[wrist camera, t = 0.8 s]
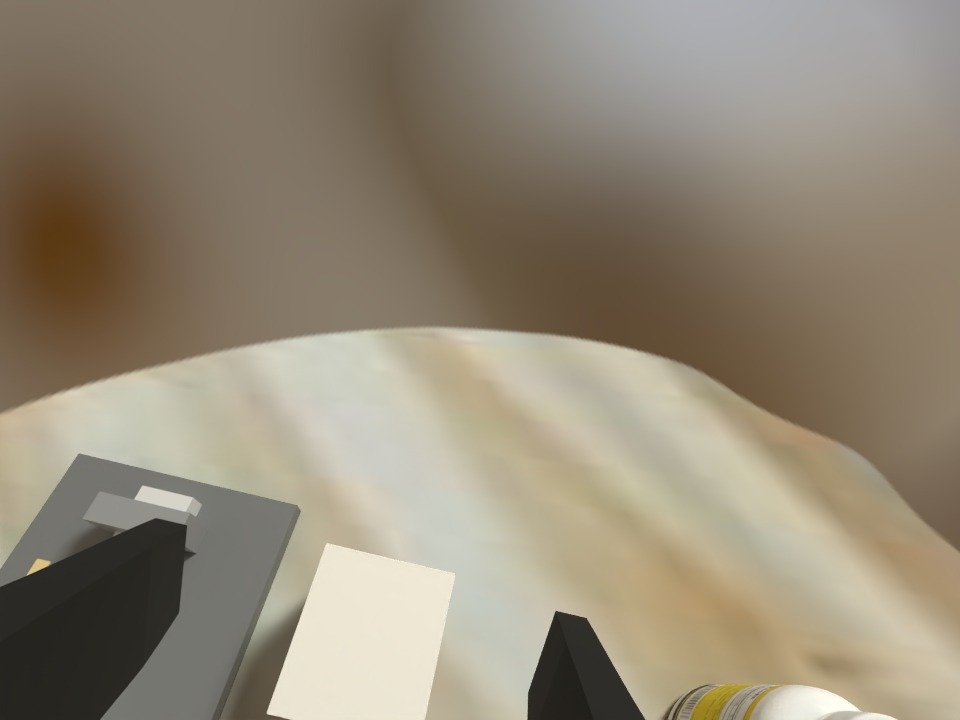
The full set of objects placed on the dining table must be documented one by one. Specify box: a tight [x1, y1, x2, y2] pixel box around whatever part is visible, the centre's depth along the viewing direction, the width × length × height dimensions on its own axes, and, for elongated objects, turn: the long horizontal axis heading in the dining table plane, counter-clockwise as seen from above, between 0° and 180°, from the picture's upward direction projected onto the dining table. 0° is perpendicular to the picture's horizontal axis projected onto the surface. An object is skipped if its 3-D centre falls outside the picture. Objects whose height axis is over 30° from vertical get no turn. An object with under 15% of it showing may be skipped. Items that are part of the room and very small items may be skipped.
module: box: [266, 543, 455, 720], centre depth 21 cm, size 6×5×6 cm
